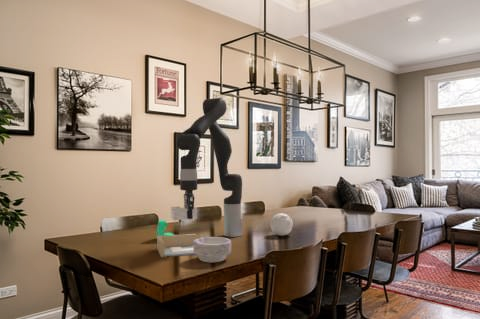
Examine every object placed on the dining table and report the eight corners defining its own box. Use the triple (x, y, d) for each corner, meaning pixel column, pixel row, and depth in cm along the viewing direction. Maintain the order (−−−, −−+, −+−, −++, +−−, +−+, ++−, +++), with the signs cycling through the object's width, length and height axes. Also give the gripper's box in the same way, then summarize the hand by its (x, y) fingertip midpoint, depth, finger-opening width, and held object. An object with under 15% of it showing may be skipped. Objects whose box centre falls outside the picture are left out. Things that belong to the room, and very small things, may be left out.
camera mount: (176, 241, 186) (176, 221, 186) (161, 243, 183) (161, 222, 183) (170, 237, 197) (170, 218, 197) (156, 238, 194) (156, 219, 194)
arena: (196, 246, 175) (196, 233, 175) (203, 253, 160) (203, 240, 160) (157, 248, 169) (157, 236, 169) (160, 257, 154) (160, 243, 154)
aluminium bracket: (193, 216, 171) (193, 205, 171) (196, 219, 163) (196, 207, 163) (171, 217, 168) (171, 206, 168) (173, 220, 160) (173, 208, 160)
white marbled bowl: (232, 264, 142) (232, 243, 143) (192, 265, 141) (192, 244, 141) (230, 254, 158) (230, 236, 158) (194, 255, 156) (194, 236, 156)
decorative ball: (277, 238, 192) (277, 215, 193) (266, 234, 203) (266, 212, 204) (297, 236, 197) (296, 214, 198) (285, 232, 208) (285, 211, 209)
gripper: (200, 179, 159) (200, 220, 159) (194, 178, 172) (194, 215, 172) (182, 180, 156) (183, 221, 156) (177, 178, 170) (178, 216, 170)
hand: (189, 217), depth 164 cm, fingers closed on aluminium bracket, 3 cm apart
